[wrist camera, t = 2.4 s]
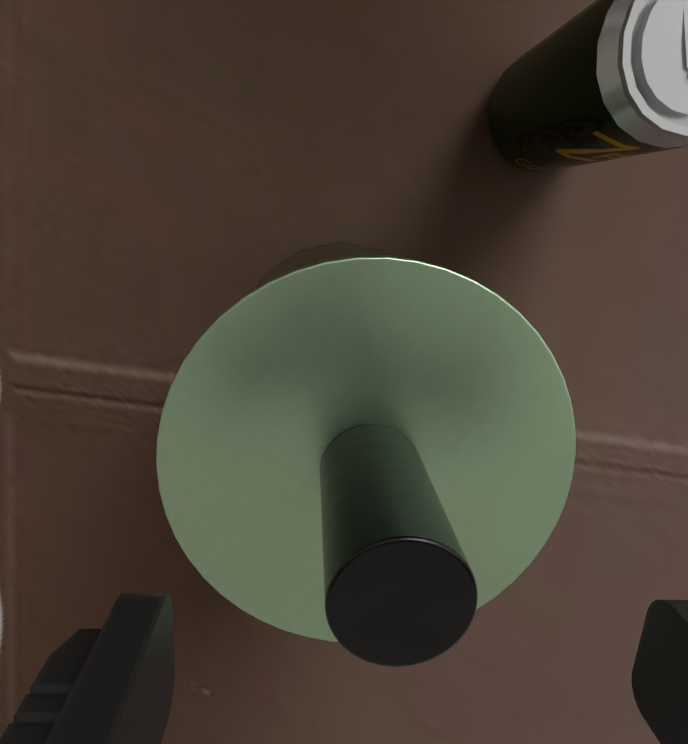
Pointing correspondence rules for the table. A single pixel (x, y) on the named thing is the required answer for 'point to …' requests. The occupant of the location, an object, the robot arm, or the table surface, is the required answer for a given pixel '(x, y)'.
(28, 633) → the table surface
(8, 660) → the table surface
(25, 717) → the robot arm
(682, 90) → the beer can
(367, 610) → the bin lid
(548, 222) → the table surface
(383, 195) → the table surface
